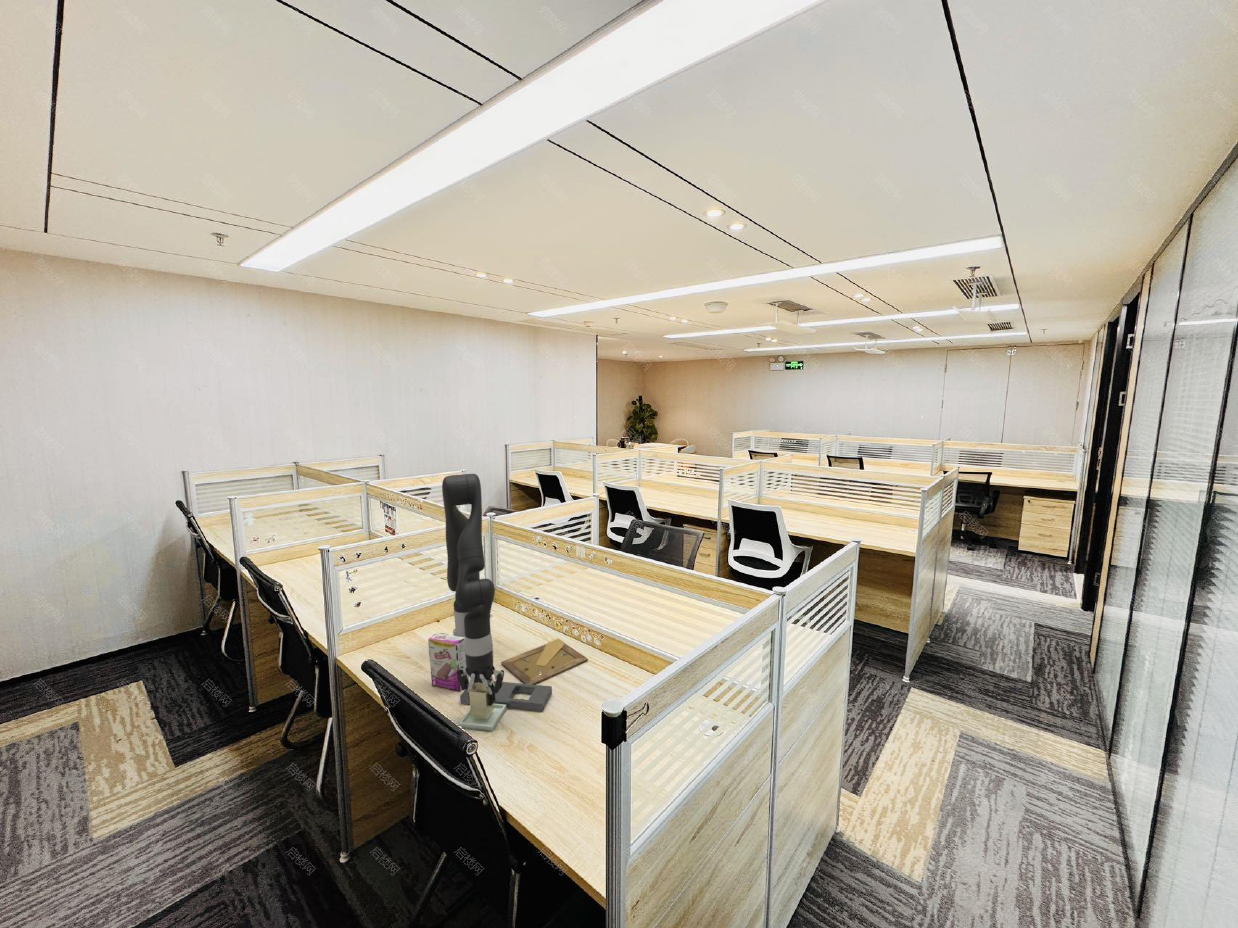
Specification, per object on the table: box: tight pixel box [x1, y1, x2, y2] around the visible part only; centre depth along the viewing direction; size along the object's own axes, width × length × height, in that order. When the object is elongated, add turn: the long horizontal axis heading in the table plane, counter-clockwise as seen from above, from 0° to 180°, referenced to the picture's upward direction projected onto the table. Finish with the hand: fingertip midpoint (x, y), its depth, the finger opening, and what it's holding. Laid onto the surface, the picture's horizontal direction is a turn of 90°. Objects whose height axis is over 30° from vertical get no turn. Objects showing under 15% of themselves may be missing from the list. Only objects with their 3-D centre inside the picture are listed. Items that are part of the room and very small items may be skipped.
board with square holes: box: [459, 680, 553, 713], centre depth 155 cm, size 26×9×2 cm, turn 80°
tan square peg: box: [469, 683, 495, 719], centre depth 145 cm, size 5×5×8 cm
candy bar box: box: [427, 632, 470, 692], centre depth 162 cm, size 11×5×16 cm, turn 71°
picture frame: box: [500, 638, 589, 685], centre depth 175 cm, size 19×2×24 cm
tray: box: [458, 704, 508, 733], centre depth 146 cm, size 10×10×2 cm
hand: (482, 702), depth 146 cm, fingers closed on tan square peg, 5 cm apart
